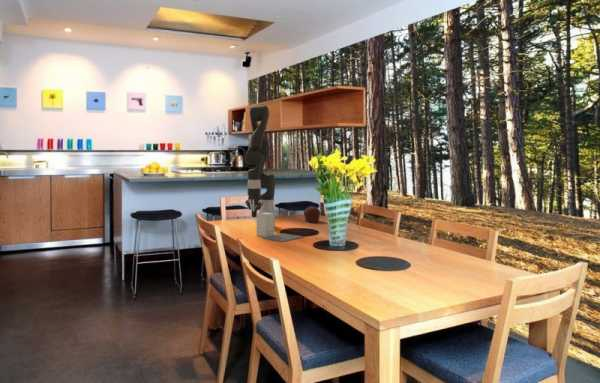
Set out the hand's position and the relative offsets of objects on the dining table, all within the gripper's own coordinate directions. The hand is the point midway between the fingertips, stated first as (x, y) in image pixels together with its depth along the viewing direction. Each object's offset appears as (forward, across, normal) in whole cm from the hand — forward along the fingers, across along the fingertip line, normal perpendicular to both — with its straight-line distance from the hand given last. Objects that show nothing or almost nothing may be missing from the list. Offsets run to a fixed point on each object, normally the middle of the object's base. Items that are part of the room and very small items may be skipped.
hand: (254, 217), depth 280 cm
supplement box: (+10, -9, 0) cm, 13 cm away
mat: (+10, -21, -1) cm, 23 cm away
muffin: (+10, +2, -57) cm, 58 cm away
